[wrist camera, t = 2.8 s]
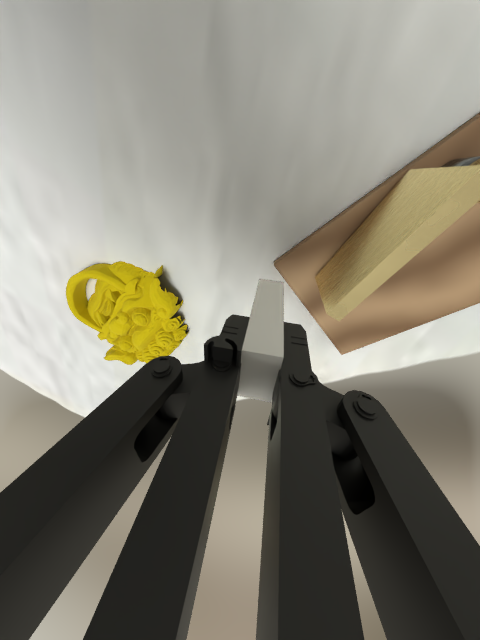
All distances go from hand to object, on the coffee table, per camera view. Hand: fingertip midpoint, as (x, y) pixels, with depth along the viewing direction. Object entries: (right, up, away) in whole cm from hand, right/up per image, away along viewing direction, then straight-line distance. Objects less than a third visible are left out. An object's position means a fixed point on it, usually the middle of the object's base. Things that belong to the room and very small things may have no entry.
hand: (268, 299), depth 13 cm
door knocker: (-18, 0, +17) cm, 25 cm away
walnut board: (+14, +4, +6) cm, 16 cm away
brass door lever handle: (+10, +6, +4) cm, 13 cm away
